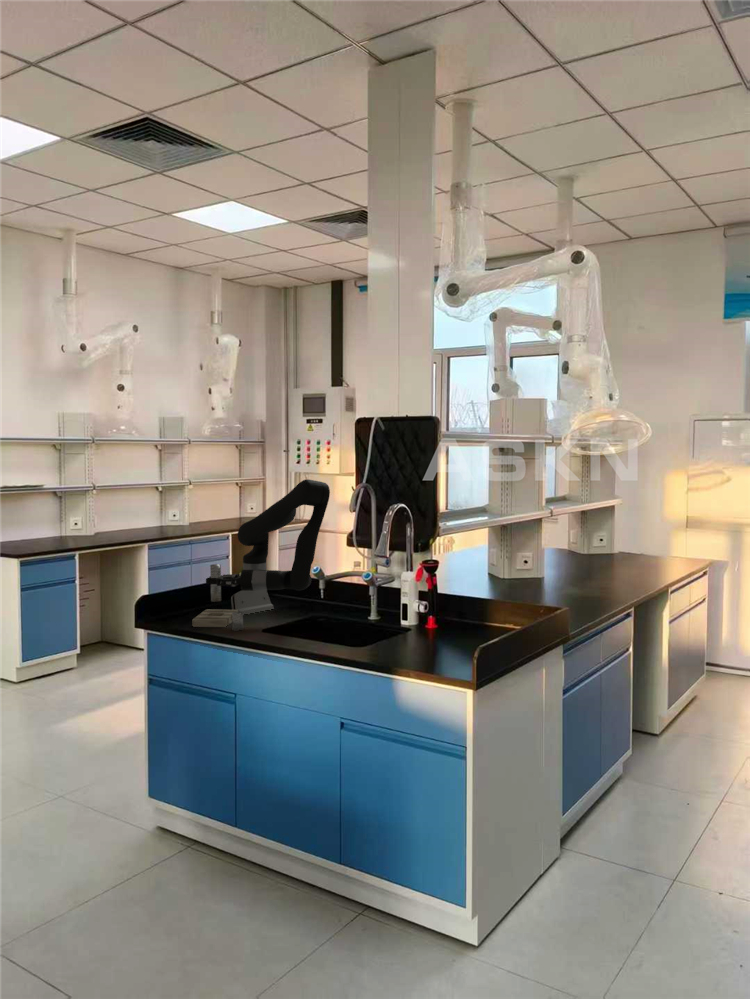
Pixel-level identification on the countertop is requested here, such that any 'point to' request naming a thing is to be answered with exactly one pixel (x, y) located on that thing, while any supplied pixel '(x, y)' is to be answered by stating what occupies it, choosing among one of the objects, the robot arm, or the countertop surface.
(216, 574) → the long pin
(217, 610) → the hole plate
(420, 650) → the countertop surface
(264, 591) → the hinge
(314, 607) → the countertop surface
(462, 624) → the countertop surface
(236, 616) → the short pin
